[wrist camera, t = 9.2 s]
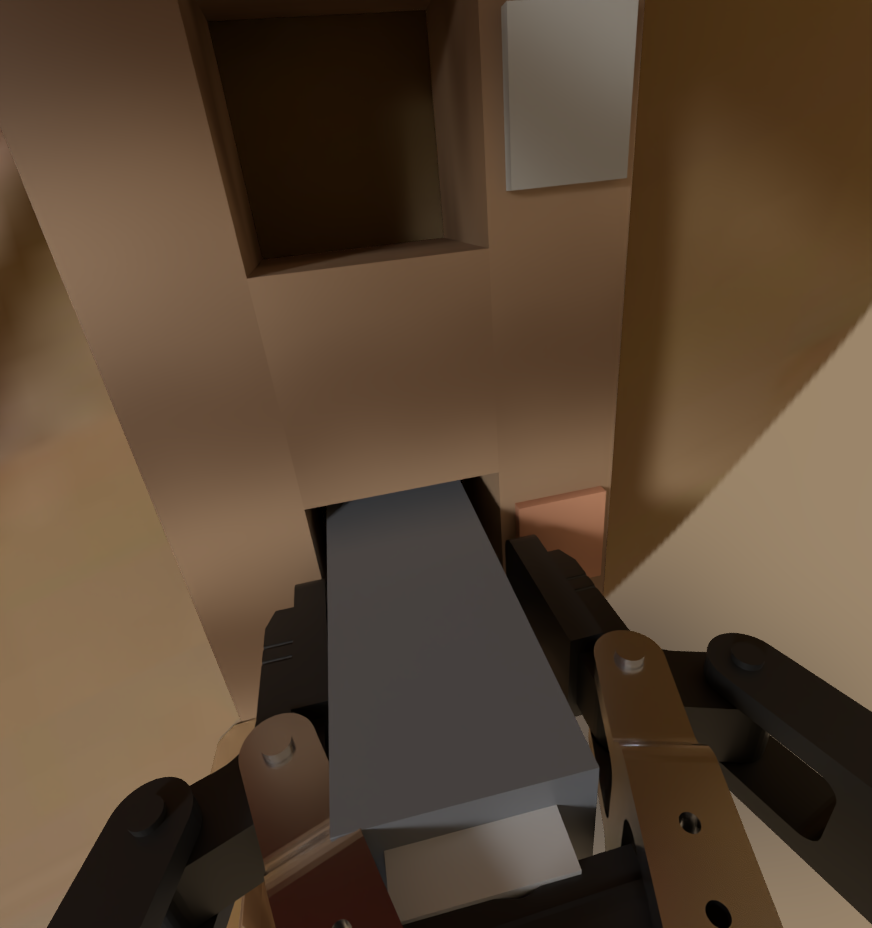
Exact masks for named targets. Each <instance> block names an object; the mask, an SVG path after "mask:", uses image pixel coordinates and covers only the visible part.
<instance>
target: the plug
mask: <svg viewBox="0 0 872 928" xmlns="http://www.w3.org/2000/svg"><path fill="white" fill-rule="evenodd" d="M327 604H328V706H329V807H330V840H331V839H334V838H337V837H340V836H342V835H346V834H349V833H352V832H355V831H357V830H358V829H361V831H362V834H363V836H364V838H365V840H366V843H367V845H368V847H369V850H370V852H371V854H372V857H373V859H374V861H375V864H376V866H377V868H378V870H379V873H380V875H381V877H382V880H383V882H384V884H385V887H386V889H387V891H388V894H389V896H390V898H391V901H392V903H393V905H394V907H395V910H396V912H397V914H398V917H399V919H400V921H401V924H402V925H404V924H407V923H411V922H414V921H418V920H421V919H425V918H428V917H432V916H436V915H439V914H443V913H446V912H450V911H453V910H457V909H460V908H464V907H467V906H471V905H474V904H478V903H481V902H485V901H488V900H492V899H521V898H524V897H527V896H528V895H530V894H531V893H533V892H534V891H535V890H537V889H538V888H539V887H541V886H542V885H545V884H548V883H552V882H555V881H559V880H562V879H566V878H569V877H573V876H576V875H580V874H581V872H582V870H581V867H580V865H579V862H578V860H580V859H583V858H587V857H590V856H592V855H593V842H594V830H595V816H596V804H597V792H598V779H599V766H598V764H597V762H596V760H595V757H594V755H593V753H592V751H591V749H590V747H589V745H588V743H587V741H586V739H585V737H584V735H583V733H582V731H581V729H580V727H579V725H578V722H577V720H576V719H575V716H574V714H573V712H572V710H571V708H570V706H569V704H568V702H567V700H566V698H565V696H564V694H563V692H562V689H561V687H560V685H559V683H558V681H557V679H556V677H555V675H554V673H553V671H552V669H551V667H550V665H549V663H548V661H547V659H546V657H545V654H544V652H543V650H542V648H541V646H540V644H539V642H538V640H537V638H536V636H535V634H534V632H533V630H532V628H531V626H530V624H529V622H528V619H527V617H526V615H525V613H524V611H523V609H522V607H521V605H520V603H519V601H518V599H517V597H516V595H515V593H514V591H513V589H512V586H511V584H510V582H509V580H508V578H507V576H506V574H505V572H504V570H503V568H502V566H501V564H500V562H499V560H498V558H497V556H496V554H495V551H494V549H493V547H492V545H491V543H490V541H489V539H488V537H487V535H486V533H485V531H484V529H483V527H482V525H481V523H480V521H479V518H478V516H477V514H476V512H475V510H474V508H473V506H472V504H471V502H470V500H469V498H468V496H467V494H466V492H465V490H464V488H463V486H462V483H461V481H460V480H456V481H451V482H446V483H440V484H435V485H430V486H425V487H420V488H414V489H409V490H404V491H399V492H394V493H388V494H383V495H378V496H373V497H368V498H363V499H357V500H352V501H347V502H342V503H337V504H331V505H327Z"/></svg>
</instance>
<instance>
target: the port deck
mask: <svg viewBox="0 0 872 928" xmlns="http://www.w3.org/2000/svg"><path fill="white" fill-rule="evenodd" d="M644 7H645V0H0V128H1V131H2V133H3V135H4V138H5V140H6V143H7V145H8V148H9V150H10V153H11V155H12V158H13V160H14V163H15V165H16V168H17V170H18V172H19V175H20V177H21V180H22V182H23V185H24V187H25V190H26V192H27V195H28V197H29V200H30V202H31V205H32V207H33V209H34V212H35V214H36V217H37V219H38V222H39V224H40V227H41V229H42V232H43V234H44V237H45V239H46V241H47V244H48V246H49V249H50V251H51V254H52V256H53V259H54V261H55V264H56V266H57V269H58V271H59V274H60V276H61V278H62V281H63V283H64V286H65V288H66V291H67V293H68V296H69V298H70V301H71V303H72V306H73V308H74V310H75V313H76V315H77V318H78V320H79V323H80V325H81V328H82V330H83V333H84V335H85V338H86V340H87V343H88V345H89V347H90V350H91V352H92V355H93V357H94V360H95V362H96V365H97V367H98V370H99V372H100V375H101V377H102V379H103V382H104V384H105V387H106V389H107V392H108V394H109V397H110V399H111V402H112V404H113V407H114V409H115V412H116V414H117V416H118V419H119V421H120V424H121V426H122V429H123V431H124V434H125V436H126V439H127V441H128V444H129V446H130V448H131V451H132V453H133V456H134V458H135V461H136V463H137V466H138V468H139V471H140V473H141V476H142V478H143V481H144V483H145V485H146V488H147V490H148V493H149V495H150V498H151V500H152V503H153V505H154V508H155V510H156V513H157V515H158V517H159V520H160V522H161V525H162V527H163V530H164V532H165V535H166V537H167V540H168V542H169V545H170V547H171V550H172V552H173V554H174V557H175V559H176V562H177V564H178V567H179V569H180V572H181V574H182V577H183V579H184V582H185V584H186V587H187V589H188V591H189V594H190V596H191V599H192V601H193V604H194V606H195V609H196V611H197V614H198V616H199V619H200V621H201V623H202V626H203V628H204V631H205V633H206V636H207V638H208V641H209V643H210V646H211V648H212V651H213V653H214V656H215V658H216V660H217V663H218V665H219V668H220V670H221V673H222V675H223V678H224V680H225V683H226V685H227V688H228V690H229V692H230V695H231V697H232V700H233V702H234V705H235V707H236V710H237V712H238V715H239V717H240V720H241V721H245V720H249V719H253V718H256V716H257V705H258V695H259V685H260V675H261V666H262V655H263V650H264V648H263V645H264V635H265V628H266V626H267V625H268V623H269V621H270V620H271V618H272V616H273V615H274V613H275V611H278V610H282V609H287V608H291V607H294V588H295V585H296V584H301V583H305V582H310V581H315V580H319V579H324V578H325V579H326V581H327V535H326V531H325V526H324V522H323V518H322V513H321V509H320V507H321V506H326V505H331V504H337V503H342V502H347V501H352V500H357V499H363V498H368V497H373V496H378V495H383V494H388V493H394V492H399V491H404V490H409V489H414V488H420V487H425V486H430V485H435V484H440V483H446V482H451V481H456V480H461V479H463V482H464V490H465V492H466V494H467V496H468V498H469V500H470V502H471V504H472V506H473V508H474V510H475V512H476V514H477V516H478V518H479V521H480V523H481V525H482V527H483V529H484V531H485V533H486V535H487V537H488V539H489V541H490V543H491V545H492V547H493V549H494V551H495V554H496V556H497V558H498V560H499V562H500V564H501V566H502V568H503V570H504V572H505V574H506V560H505V542H506V540H509V539H513V538H518V537H523V536H527V535H532V534H535V535H536V536H537V537H538V538H539V540H540V541H541V543H542V544H543V546H544V547H545V548H546V550H547V551H553V550H557V549H559V550H561V551H563V552H564V553H566V554H568V555H569V556H571V557H572V558H574V559H576V561H577V562H578V563H579V565H580V566H581V567H582V569H583V570H584V571H585V572H586V575H587V576H589V578H590V579H591V580H592V582H593V583H594V584H595V587H596V588H598V590H599V591H600V592H601V594H602V595H603V590H604V575H605V561H606V547H607V533H608V519H609V504H610V490H611V476H612V462H613V448H614V433H615V419H616V405H617V391H618V376H619V362H620V348H621V334H622V320H623V305H624V291H625V277H626V263H627V248H628V234H629V220H630V206H631V192H632V177H633V163H634V149H635V135H636V120H637V106H638V92H639V78H640V64H641V49H642V35H643V21H644ZM413 10H426V21H427V33H428V46H429V58H430V71H431V83H432V96H433V108H434V121H435V133H436V146H437V158H438V170H439V183H440V195H441V208H442V220H443V233H444V238H437V239H429V240H421V241H412V242H404V243H396V244H387V245H379V246H371V247H363V248H354V249H346V250H338V251H329V252H321V253H313V254H304V255H296V256H288V257H279V258H271V259H262V255H261V251H260V246H259V242H258V238H257V234H256V229H255V225H254V221H253V216H252V212H251V208H250V203H249V199H248V195H247V191H246V186H245V182H244V178H243V173H242V169H241V165H240V160H239V156H238V152H237V147H236V143H235V139H234V135H233V130H232V126H231V122H230V117H229V113H228V109H227V104H226V100H225V96H224V92H223V87H222V83H221V79H220V74H219V70H218V66H217V61H216V57H215V53H214V48H213V44H212V40H211V36H210V31H209V27H208V23H207V21H221V20H240V19H260V18H279V17H298V16H317V15H336V14H355V13H375V12H394V11H413Z"/></svg>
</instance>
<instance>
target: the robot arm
mask: <svg viewBox="0 0 872 928" xmlns="http://www.w3.org/2000/svg"><path fill="white" fill-rule="evenodd" d="M505 560H506V576H507V578H508V580H509V582H510V584H511V586H512V589H513V591H514V593H515V595H516V597H517V599H518V601H519V603H520V605H521V607H522V609H523V611H524V613H525V615H526V617H527V619H528V622H529V624H530V626H531V628H532V630H533V632H534V634H535V636H536V638H537V640H538V642H539V644H540V646H541V648H542V650H543V652H544V654H545V657H546V659H547V661H548V663H549V665H550V667H551V669H552V671H553V673H554V675H555V677H556V679H557V681H558V683H559V685H560V687H561V689H562V692H563V694H564V696H565V698H566V700H567V702H568V704H569V706H570V708H571V710H572V712H573V714H574V716H579V715H583V717H584V719H585V720H586V722H587V724H588V726H589V733H588V739H589V747H590V749H591V751H592V753H593V755H594V757H595V760H596V762H597V764H598V766H599V779H598V792H597V793H598V798H599V804H600V810H601V816H602V821H603V828H604V837H605V852H603V853H599V854H596V855H593V856H590V857H587V858H583V859H580V860H578V862H579V865H580V867H581V870H582V872H581V874H580V875H576V876H573V877H569V878H566V879H562V880H559V881H555V882H552V883H548V884H545V885H542V886H541V887H539V888H538V889H537V890H535V891H534V892H533V893H531V894H530V895H528V896H527V897H524V898H521V899H492V900H488V901H485V902H481V903H478V904H474V905H471V906H467V907H464V908H460V909H457V910H453V911H450V912H446V913H443V914H439V915H436V916H432V917H428V918H425V919H421V920H418V921H414V922H411V923H407V924H404V925H402V924H401V921H400V919H399V917H398V914H397V912H396V910H395V907H394V905H393V903H392V901H391V898H390V896H389V894H388V891H387V889H386V887H385V884H384V882H383V880H382V877H381V875H380V873H379V870H378V868H377V866H376V864H375V861H374V859H373V857H372V854H371V852H370V850H369V847H368V845H367V843H366V840H365V838H364V836H363V834H362V831H361V829H358V830H357V831H355V832H352V833H349V834H346V835H342V836H340V837H337V838H334V839H331V840H330V807H329V706H328V604H327V581H326V579H325V578H324V579H319V580H315V581H310V582H305V583H301V584H296V585H295V588H294V607H291V608H287V609H282V610H278V611H275V613H274V615H273V616H272V618H271V620H270V621H269V623H268V625H267V626H266V628H265V635H264V645H263V648H264V650H263V655H262V666H261V675H260V685H259V695H258V705H257V716H256V724H255V728H254V729H253V730H252V731H251V732H250V733H249V735H248V736H247V737H246V739H245V741H244V742H243V744H242V747H241V749H240V753H239V754H238V755H237V756H236V757H235V758H234V759H233V760H232V761H231V762H229V763H228V764H227V765H225V766H224V767H222V768H220V769H219V770H217V771H215V772H214V773H212V774H210V775H208V776H206V777H205V778H203V779H201V780H199V781H198V782H196V783H194V784H192V785H190V786H189V785H188V784H187V783H186V782H185V781H183V780H182V779H179V778H176V777H163V778H159V779H155V780H153V781H150V782H148V783H146V784H144V785H142V786H140V787H139V788H138V789H136V790H135V791H133V792H132V793H131V794H130V795H128V796H127V797H126V798H125V799H124V800H123V801H122V802H121V803H120V804H119V805H118V807H117V808H116V809H115V810H114V812H113V813H112V815H111V816H110V818H109V820H108V821H107V823H106V825H105V827H104V828H103V830H102V832H101V834H100V835H99V837H98V839H97V841H96V842H95V844H94V846H93V848H92V849H91V851H90V853H89V855H88V856H87V858H86V860H85V862H84V863H83V865H82V867H81V869H80V870H79V872H78V874H77V876H76V877H75V879H74V881H73V883H72V884H71V886H70V888H69V890H68V892H67V893H66V895H65V897H64V899H63V900H62V902H61V904H60V906H59V907H58V909H57V911H56V913H55V914H54V916H53V918H52V920H51V921H50V923H49V925H48V927H47V928H226V927H227V924H228V921H229V918H230V915H231V912H232V909H233V906H234V903H235V901H236V900H238V899H239V898H241V897H242V896H244V895H245V894H247V893H248V892H250V891H251V890H252V889H254V888H255V887H257V886H258V885H260V884H261V883H263V882H264V881H265V886H266V891H267V895H268V899H269V903H270V907H271V911H272V915H273V919H274V923H275V927H276V928H783V926H782V923H781V921H780V918H779V916H778V913H777V911H776V908H775V905H774V903H773V900H772V898H771V896H770V893H769V890H768V888H767V885H766V883H765V880H764V877H763V875H762V873H761V870H760V867H759V865H758V862H757V860H756V857H755V854H754V852H753V850H752V847H751V844H750V842H749V839H748V837H747V834H746V832H745V829H744V827H743V824H742V821H741V819H740V816H739V814H738V811H737V809H736V806H735V804H734V801H733V798H732V796H731V793H730V791H731V792H732V793H733V794H734V795H735V796H736V797H737V798H738V799H739V800H740V801H741V802H743V803H744V804H745V805H746V806H747V807H748V808H749V809H750V810H751V811H752V812H753V813H754V814H755V815H756V816H758V818H760V819H761V820H762V821H763V822H764V823H765V824H766V825H767V826H768V827H769V828H770V829H771V830H772V831H773V832H774V833H776V834H777V835H778V836H779V837H780V838H781V839H782V840H783V841H784V842H785V843H786V844H787V845H788V846H789V847H790V848H791V849H792V850H793V851H795V852H796V853H797V854H798V855H799V856H800V857H801V858H802V859H803V860H804V861H805V862H806V863H807V864H808V865H810V867H812V868H813V869H814V870H815V871H816V872H817V873H818V874H819V875H820V876H821V877H822V878H823V879H824V880H825V881H826V882H828V883H829V884H830V885H831V886H832V887H833V888H834V889H835V890H836V891H837V892H838V893H839V894H840V895H841V896H842V897H843V898H844V899H846V900H847V901H848V902H849V903H850V904H851V905H852V906H853V907H854V908H855V909H856V910H857V911H858V912H860V914H862V916H864V917H865V918H866V919H867V920H868V921H869V922H870V923H871V924H872V712H871V711H869V710H868V709H866V708H865V707H863V706H862V705H860V704H859V703H857V702H856V701H854V700H853V699H851V698H850V697H848V696H847V695H845V694H843V693H842V692H840V691H839V690H837V689H836V688H834V687H833V686H831V685H830V684H828V683H827V682H825V681H824V680H822V679H821V678H819V677H818V676H816V675H815V674H813V673H811V672H810V671H808V670H807V669H805V668H804V667H802V666H801V665H799V664H798V663H796V662H795V661H793V660H792V659H790V658H788V657H787V656H785V655H784V654H782V653H781V652H779V651H778V650H776V649H775V648H773V647H772V646H770V645H769V644H767V643H765V642H764V641H762V640H759V639H757V638H755V637H752V636H749V635H745V634H739V633H726V634H721V635H718V636H716V637H715V638H713V639H712V640H711V641H710V643H709V645H708V647H707V652H685V651H668V650H663V649H661V648H660V647H659V646H658V645H657V644H656V643H655V642H654V641H653V640H651V639H650V638H648V637H646V636H645V635H642V634H640V633H637V632H634V631H630V630H629V629H628V628H627V627H626V625H625V624H624V623H623V621H622V620H621V619H620V617H619V616H618V615H617V613H616V612H615V611H614V610H613V608H612V607H611V606H610V604H609V603H608V602H607V600H606V599H605V598H604V596H603V595H602V594H601V592H600V591H599V590H598V588H596V587H595V584H594V583H593V582H592V580H591V579H590V578H589V576H587V575H586V572H585V571H584V570H583V569H582V567H581V566H580V565H579V563H578V562H577V561H576V559H574V558H572V557H571V556H569V555H568V554H566V553H564V552H563V551H561V550H559V549H557V550H553V551H547V550H546V548H545V547H544V546H543V544H542V543H541V541H540V540H539V538H538V537H537V536H536V535H535V534H532V535H527V536H523V537H518V538H513V539H509V540H506V542H505ZM770 735H771V736H770ZM773 737H774V738H775V739H776V740H775V739H774V738H773ZM778 741H779V742H780V743H781V744H780V743H779V742H778ZM783 745H784V746H785V747H786V748H785V747H784V746H783ZM787 748H788V749H789V750H790V751H791V752H790V751H789V750H788V749H787ZM792 752H793V753H794V754H795V755H796V756H795V755H794V754H793V753H792ZM797 756H798V757H799V758H800V759H801V760H800V759H799V758H798V757H797ZM802 760H803V761H804V762H805V763H806V764H805V763H804V762H803V761H802ZM807 764H808V765H809V766H810V767H811V768H810V767H809V766H808V765H807ZM812 768H813V769H814V770H815V771H816V772H815V771H814V770H813V769H812ZM817 772H818V773H819V774H820V775H821V776H820V775H819V774H818V773H817ZM729 790H730V791H729Z"/></svg>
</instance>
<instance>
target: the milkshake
mask: <svg viewBox="0 0 872 928" xmlns="http://www.w3.org/2000/svg"><path fill="white" fill-rule="evenodd" d="M255 724H256V718H255V719H252V720H249V721H246V722H243V723H240V724H236V725H234V726H233V727H232V728H231V729H230V730H229V731H228V732H227V733H226V734H225V735H224V737H223V738H222V739H221V740H220V741H219V742H218V744H217V748H216V752H215V756H214V760H213V764H212V768H211V772H210V774H212V773H214V772H215V771H217V770H219V769H220V768H222V767H224V766H225V765H227V764H228V763H229V762H231V761H232V760H233V759H234V758H235V757H236V756H237V755H238V754H239V753H240V749H241V747H242V744H243V742H244V741H245V739H246V737H247V736H248V735H249V733H250V732H251V731H252V730H253V729H254V728H255ZM226 928H276V927H275V923H274V919H273V915H272V911H271V907H270V903H269V899H268V895H267V891H266V886H265V881H264V882H263V883H261V884H260V885H258V886H257V887H255V888H254V889H252V890H251V891H250V892H248V893H247V894H245V895H244V896H242V897H241V898H239V899H238V900H236V901H235V903H234V906H233V909H232V912H231V915H230V918H229V921H228V924H227V927H226Z"/></svg>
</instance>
